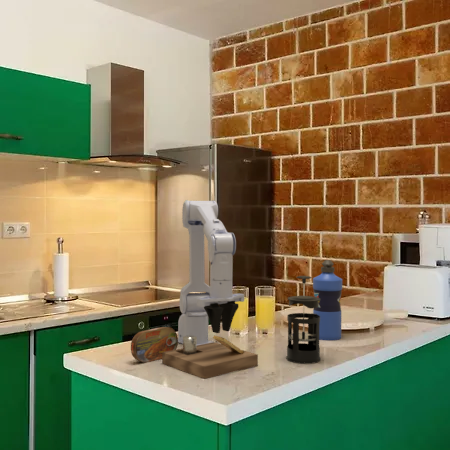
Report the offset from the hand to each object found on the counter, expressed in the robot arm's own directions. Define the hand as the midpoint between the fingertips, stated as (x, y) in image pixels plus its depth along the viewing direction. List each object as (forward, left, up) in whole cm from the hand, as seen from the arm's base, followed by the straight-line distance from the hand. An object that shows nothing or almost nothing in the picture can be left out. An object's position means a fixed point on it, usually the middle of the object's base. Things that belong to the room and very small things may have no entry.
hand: (221, 331), depth 148 cm
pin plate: (-4, -1, -9) cm, 10 cm away
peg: (-9, -4, -9) cm, 13 cm away
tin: (-18, -8, -10) cm, 22 cm away
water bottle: (-5, +49, -10) cm, 51 cm away
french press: (+8, +23, -10) cm, 27 cm away
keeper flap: (0, +2, -4) cm, 5 cm away
